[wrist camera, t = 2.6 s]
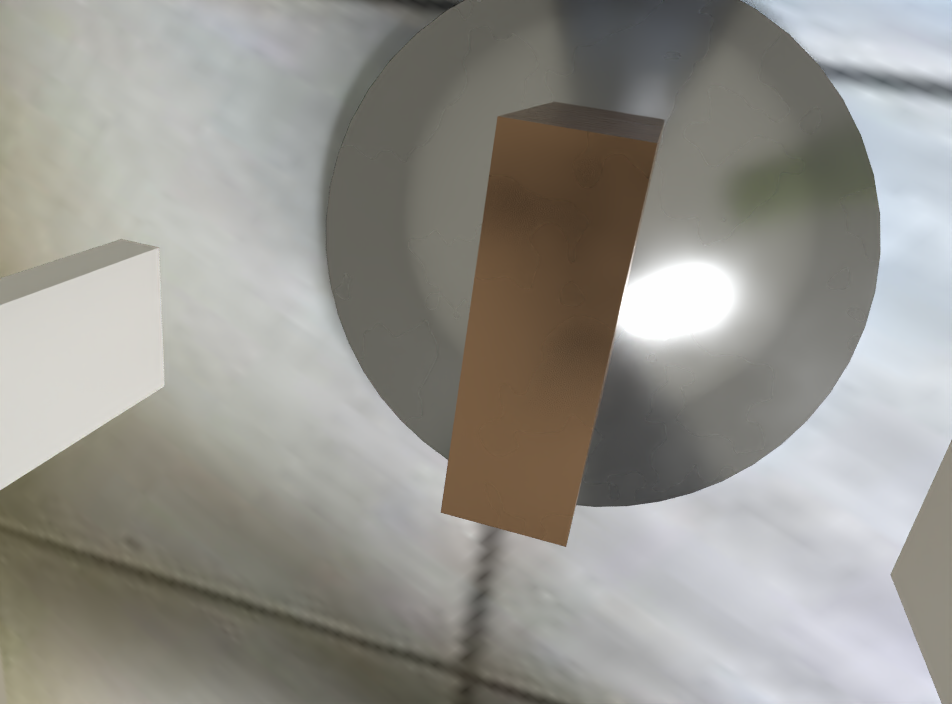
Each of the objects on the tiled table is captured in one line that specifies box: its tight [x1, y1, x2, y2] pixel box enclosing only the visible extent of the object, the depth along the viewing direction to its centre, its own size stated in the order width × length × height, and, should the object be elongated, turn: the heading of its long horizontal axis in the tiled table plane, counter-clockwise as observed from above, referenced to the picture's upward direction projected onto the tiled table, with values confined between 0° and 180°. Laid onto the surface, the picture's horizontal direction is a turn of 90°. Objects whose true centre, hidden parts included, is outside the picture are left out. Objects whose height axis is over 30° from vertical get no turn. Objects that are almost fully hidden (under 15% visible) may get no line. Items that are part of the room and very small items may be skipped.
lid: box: [326, 0, 880, 547], centre depth 19 cm, size 16×16×8 cm
